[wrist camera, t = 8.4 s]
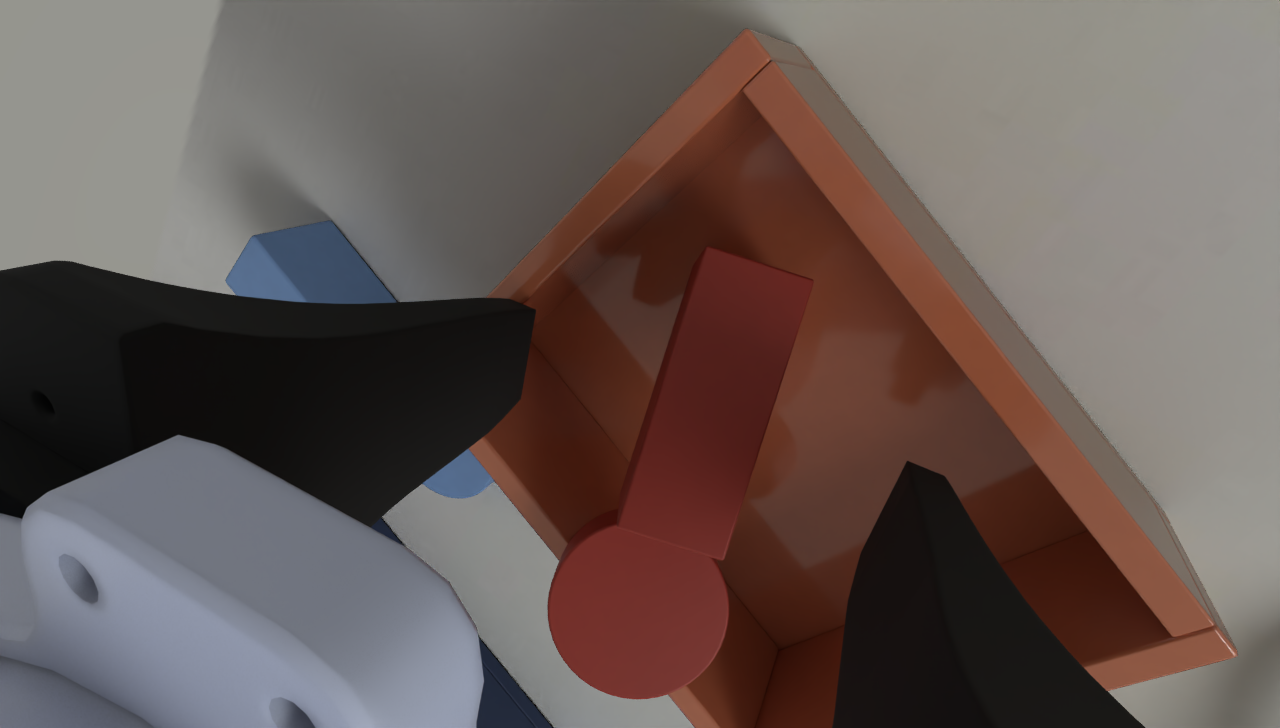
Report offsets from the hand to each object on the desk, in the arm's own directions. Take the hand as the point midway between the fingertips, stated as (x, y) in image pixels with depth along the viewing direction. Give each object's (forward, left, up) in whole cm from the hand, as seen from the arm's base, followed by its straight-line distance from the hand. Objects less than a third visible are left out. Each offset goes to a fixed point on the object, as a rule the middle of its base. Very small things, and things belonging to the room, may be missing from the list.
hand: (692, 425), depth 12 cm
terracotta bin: (+2, 0, -4) cm, 4 cm away
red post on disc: (+1, -2, -1) cm, 3 cm away
